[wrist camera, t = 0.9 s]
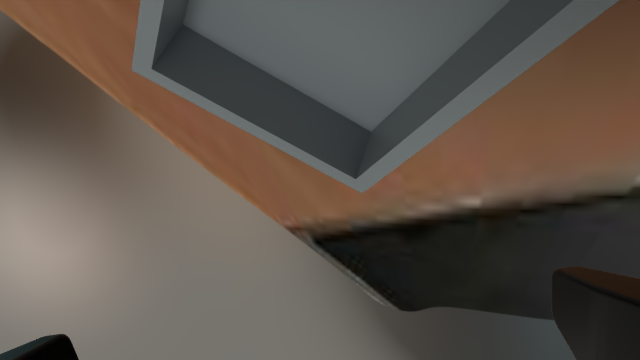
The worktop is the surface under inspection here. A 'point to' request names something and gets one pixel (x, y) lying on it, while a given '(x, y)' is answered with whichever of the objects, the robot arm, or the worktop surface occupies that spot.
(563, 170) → the worktop surface
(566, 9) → the tote
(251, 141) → the worktop surface
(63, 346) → the robot arm
